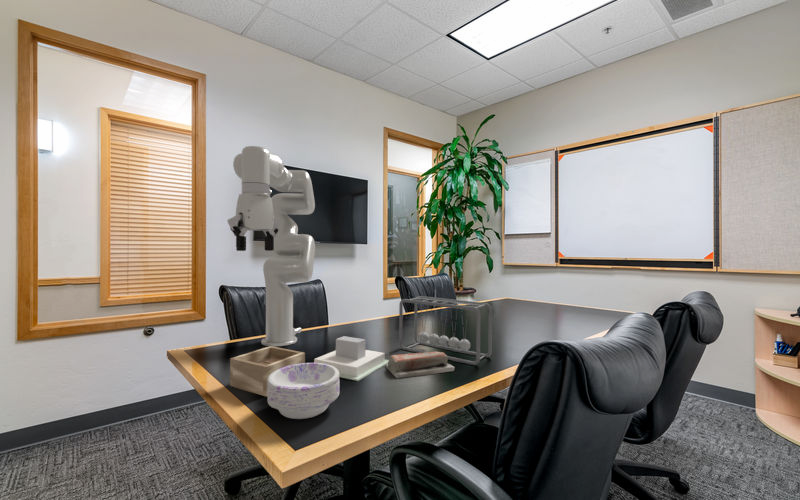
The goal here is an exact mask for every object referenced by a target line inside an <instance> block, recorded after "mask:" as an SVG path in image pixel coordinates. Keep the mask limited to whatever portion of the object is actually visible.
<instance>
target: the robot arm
mask: <svg viewBox="0 0 800 500" xmlns="http://www.w3.org/2000/svg"><path fill="white" fill-rule="evenodd" d="M232 164H233V165H232V166H233V171H234V172H235V173H234V174H236V175H237V178H239V179H240V180H241V194H240V193H239V195H238V197H237V200H236V209H235V216H234V215H233V216H232V217H230V218H228V219H227V224H228V226H229V227H230V230H231V232H232V233H233V236H234V237H235V247H236V251H237V252H238V251H239V252H245V251H247V236H246V235H245V234H246V233H247V232H248V231H255V232H256V231H257V232H258V231H259V232H260V231H262V232H263V233H264V235H265V237H264V251H268V252H269V251H271V252H272V255H273V257H269V258H267V259H266V260H265V261H264V263H263V266H262V267H263V269H262V270H263V271H262V272H263V278H264V283H265V337H264V338H262V339H261V342H260V343H261V345H262V346H265V347H269V346H273V347H285V346H290V345H293V344H296V343H297V342H298V337H297V336H296V335H297V334H299V333H301V332H303V331H302V328H301V327H296V328H295V327H294V294H293V292H292V289H291V288H290V287H289V285H288V284H289V283H292V284H293V283H295V284H296V283H308V282H309V281H311V280H312V277H313V271H314V263H315V256H316V255H315V253H316V242H315V239H314V238H313V236H312V235H310V234H304V233H299V228H298V224H297V223H296V221H294V219H292V218H291V217H290V216H289V215H300V216H303V215H307V216H308V215H311V214H313V213H314V211H315V208H316V203H315V202H316V201H315V196H314V189H313V184H312V183H313V182H312V179H311V176H310V173H308V171H306V170H303V169H301V170H300V169H287V168H286V167H285V165H284V162H283V161H282V159H281V158H280V156H278V155H277V154H275V153H271V152H270V151H269V150H268V149H266V148H264V147H262V146H255V145H248V146H245V147H243V148H242V151H241V153H238V154H236V156H235V157H234V158H233V163H232ZM272 189H274V190H276V191H277V192H281V193H276V194H274V195H273V196H272V197H271V194H272V193H273V192H272ZM298 233H299V234H298Z"/></svg>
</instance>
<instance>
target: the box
mask: <svg viewBox="0 0 800 500" xmlns="http://www.w3.org/2000/svg"><path fill="white" fill-rule="evenodd" d="M301 363H306V352H304V351H297V350H293V349H287V348H282V347H279V346H276V347H273V346H265V347H262V348H260V349H256V350H253V351H250V352H248V353H244V354H240V355H238V356H234V357H231V358H230V359H229V367H230V368H229V386H230V387H233V388H236V389H239V390H242V391H246V392H249V393H252V394H257V395H259V396H263V397H267V395H268V394H267V393H268V392H267V388H268V387H267V382H268V381H267V380H268V377H269V376H270V374H272V373H273V372H274V371H276V370H278V369H280V368H283V367H286V366H289V365H294V364H301Z"/></svg>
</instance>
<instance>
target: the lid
mask: <svg viewBox="0 0 800 500" xmlns="http://www.w3.org/2000/svg"><path fill="white" fill-rule="evenodd" d="M366 342H367V341H366V338H365V339H364V338H359V337H354V336H353V337H351V336H345V335H343V336H340V337H338V338H336V339H335V350H333V351H330V352H327V353H326V354H323V355H321V356H318V357H316V358H314V359H313V360H314V361H313V363H323V364H328V365H331V366H333V367H335V368H337V369H338V371H339V373H342V374H346V375H351V376H356V377H357V376H359V375H361V374H363V373H364V372H366V371H368V370H370V369H372V368H373V367H375V366H377V365H379V364H380V363H382V362H384V361H385V360H386V356H385V355H386V354H385V352H380V351H375V350H369V349H366V347H367V346H366Z"/></svg>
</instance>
